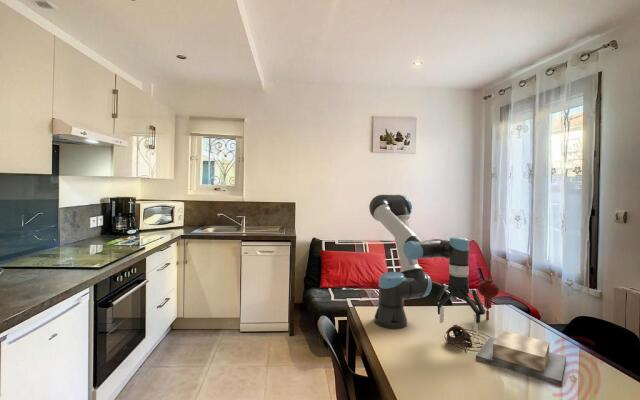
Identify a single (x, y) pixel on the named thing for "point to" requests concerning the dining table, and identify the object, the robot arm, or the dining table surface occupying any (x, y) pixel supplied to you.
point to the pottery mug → (458, 335)
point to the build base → (547, 375)
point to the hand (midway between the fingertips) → (458, 326)
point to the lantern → (488, 293)
